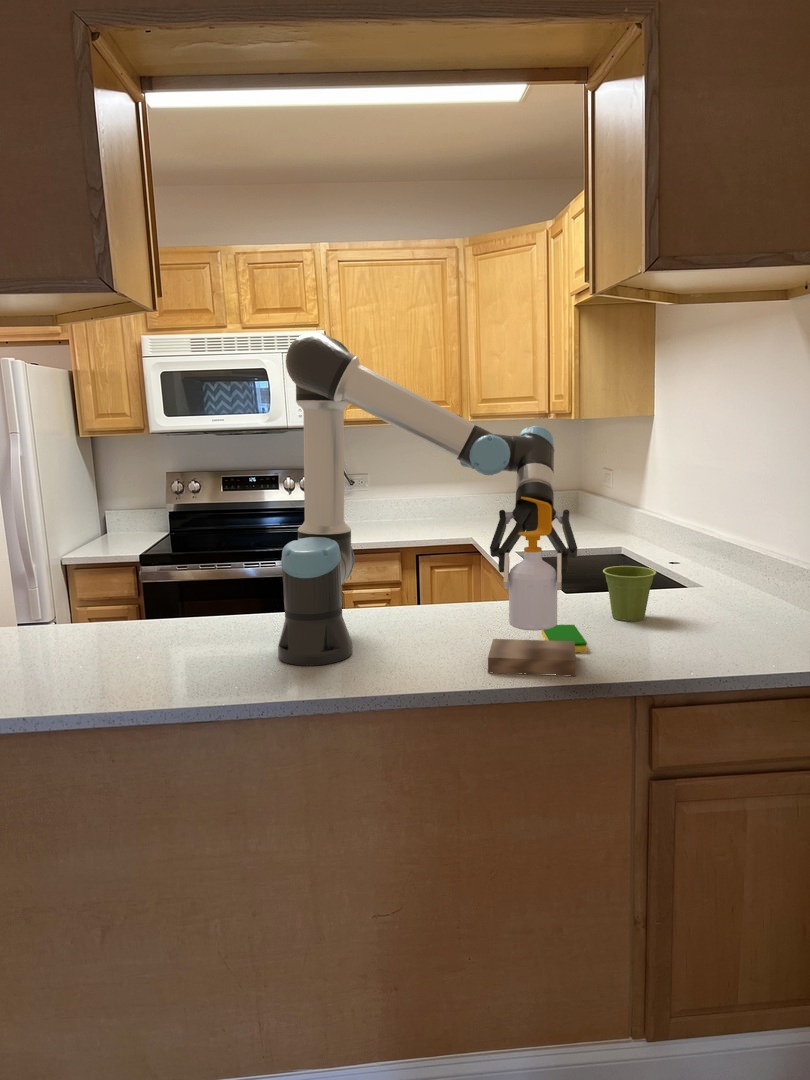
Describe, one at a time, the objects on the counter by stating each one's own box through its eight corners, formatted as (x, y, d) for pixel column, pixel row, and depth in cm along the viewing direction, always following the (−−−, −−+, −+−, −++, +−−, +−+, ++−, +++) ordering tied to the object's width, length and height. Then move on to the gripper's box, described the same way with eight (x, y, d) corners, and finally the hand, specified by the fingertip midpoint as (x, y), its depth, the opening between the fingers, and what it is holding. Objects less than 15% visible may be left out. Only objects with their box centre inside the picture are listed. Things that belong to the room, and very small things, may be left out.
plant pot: (591, 617, 175) (592, 570, 174) (622, 609, 183) (623, 563, 181) (634, 628, 166) (635, 578, 164) (665, 618, 173) (666, 570, 171)
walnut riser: (488, 672, 139) (487, 657, 139) (493, 653, 151) (493, 638, 151) (575, 676, 136) (575, 660, 136) (574, 655, 148) (574, 641, 147)
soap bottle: (500, 622, 145) (499, 496, 141) (540, 616, 148) (540, 493, 144) (525, 633, 137) (524, 500, 133) (566, 627, 140) (567, 497, 136)
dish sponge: (551, 655, 150) (551, 643, 150) (541, 635, 164) (541, 624, 164) (587, 654, 150) (587, 642, 150) (574, 634, 164) (574, 624, 163)
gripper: (589, 502, 152) (592, 597, 139) (482, 503, 156) (475, 595, 143) (590, 478, 146) (593, 575, 133) (479, 480, 150) (471, 574, 137)
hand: (532, 585), depth 138 cm, fingers closed on soap bottle, 9 cm apart
